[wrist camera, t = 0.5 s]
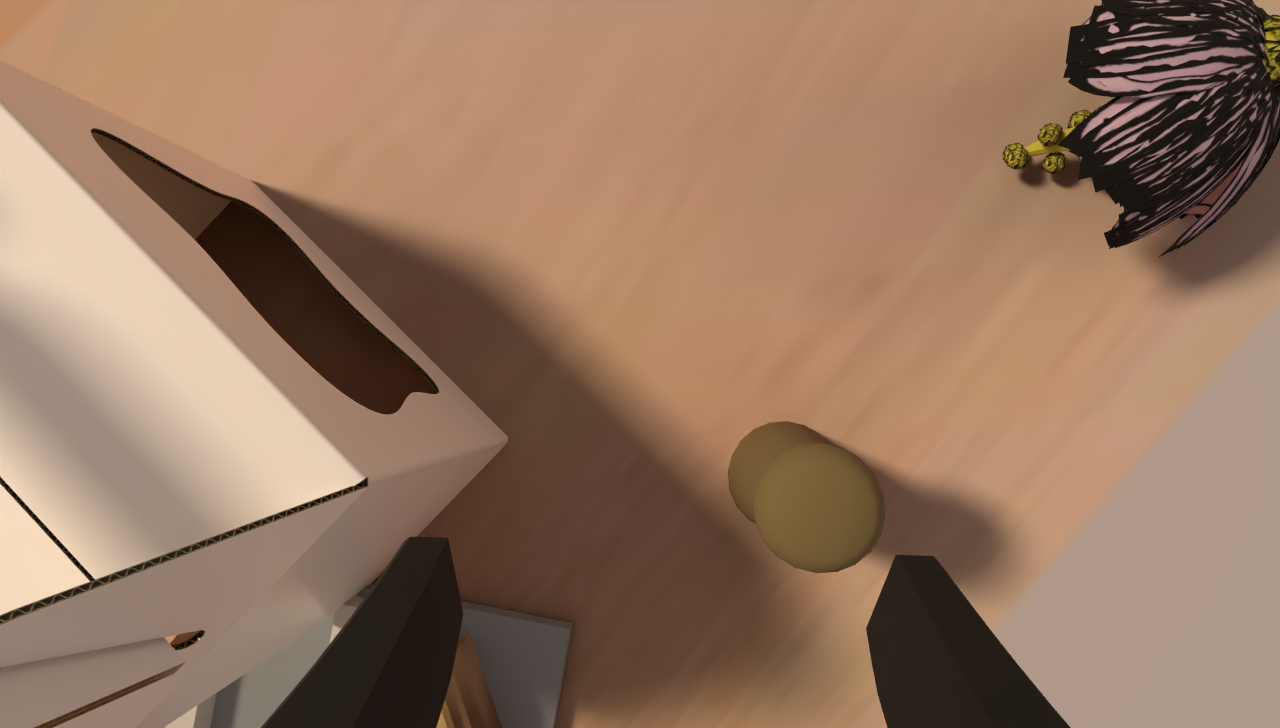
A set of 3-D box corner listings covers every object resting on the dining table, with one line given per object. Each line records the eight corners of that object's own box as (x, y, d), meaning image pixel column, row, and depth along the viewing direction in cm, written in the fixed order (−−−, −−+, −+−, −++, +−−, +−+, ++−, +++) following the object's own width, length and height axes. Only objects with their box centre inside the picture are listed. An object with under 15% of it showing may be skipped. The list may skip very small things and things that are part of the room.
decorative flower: (1439, 243, 26) (1142, 96, 23) (1142, 326, 37) (912, 235, 34) (1398, -41, 30) (1143, -200, 27) (1143, 108, 41) (938, 8, 38)
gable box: (98, 337, 40) (-1255, 224, 12) (250, 177, 40) (-770, -320, 12) (355, 607, 38) (-511, 1192, 11) (515, 441, 38) (63, 591, 10)
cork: (835, 537, 37) (902, 601, 26) (724, 527, 37) (741, 586, 26) (843, 425, 37) (912, 442, 26) (732, 417, 37) (752, 429, 26)
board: (528, 876, 37) (515, 920, 34) (169, 795, 38) (126, 830, 35) (572, 622, 37) (563, 643, 34) (215, 551, 39) (176, 565, 36)
